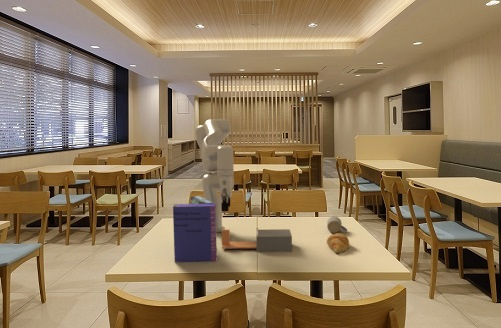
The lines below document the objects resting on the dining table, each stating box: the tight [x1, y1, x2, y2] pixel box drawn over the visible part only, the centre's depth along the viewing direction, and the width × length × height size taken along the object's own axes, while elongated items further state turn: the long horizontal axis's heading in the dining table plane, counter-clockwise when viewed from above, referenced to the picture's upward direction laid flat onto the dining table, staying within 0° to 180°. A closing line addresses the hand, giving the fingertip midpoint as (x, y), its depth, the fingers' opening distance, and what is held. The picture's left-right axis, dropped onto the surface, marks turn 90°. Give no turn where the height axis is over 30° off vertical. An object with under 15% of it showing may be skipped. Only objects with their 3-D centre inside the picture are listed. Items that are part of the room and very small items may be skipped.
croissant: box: [326, 232, 350, 254], centre depth 172 cm, size 21×10×8 cm, turn 165°
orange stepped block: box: [221, 228, 257, 249], centre depth 173 cm, size 16×8×8 cm, turn 89°
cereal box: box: [172, 203, 218, 263], centre depth 157 cm, size 17×5×24 cm, turn 91°
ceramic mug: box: [326, 216, 348, 234], centre depth 198 cm, size 11×8×8 cm
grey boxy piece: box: [256, 227, 293, 253], centre depth 173 cm, size 16×12×8 cm
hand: (226, 208), depth 173 cm, fingers open, 9 cm apart
